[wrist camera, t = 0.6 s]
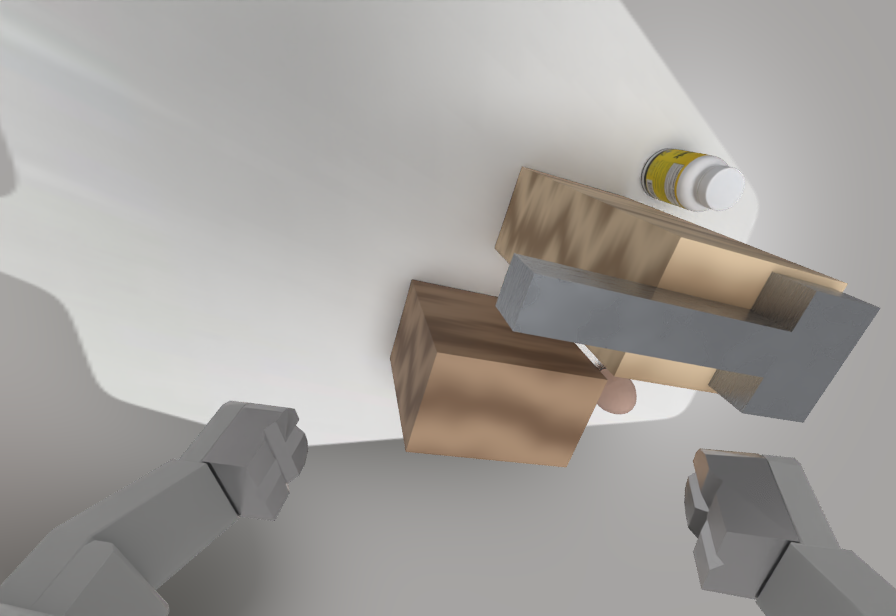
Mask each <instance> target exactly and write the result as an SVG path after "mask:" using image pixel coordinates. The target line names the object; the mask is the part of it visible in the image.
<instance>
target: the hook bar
mask: <svg viewBox="0 0 896 616" xmlns="http://www.w3.org/2000/svg"><path fill="white" fill-rule="evenodd" d="M495 306H496V307H497V309H498V310H499V312H500V313H501V315H502V316H503V318H504V319H505V320H506V322H507V323H508V325H509V326H510V328H511V329H512V331H514V332H520V333H525V334H531V335H536V336H541V337H547V338H552V339H558V340H563V341H568V342H574V343H579V344H585V345H590V346H595V347H601V348H606V349H612V350H617V351H622V352H628V353H633V354H639V355H644V356H649V357H655V358H660V359H666V360H671V361H676V362H682V363H687V364H693V365H698V366H703V367H709V368H714V369H717V370H716V371H715V373H714V375H713V377H712V378H711V380H710V382H709V384H708V386H710V387H711V388H712V389H713V390H715V391H716V392H717V393H718V394H720V395H721V396H722V397H723V398H724V399H726V400H727V401H728V402H729V403H730V404H732V405H733V406H734V407H735V408H736V409H738V410H739V411H740V412H742V413H745V414H751V415H757V416H764V417H771V418H777V419H783V420H790V421H796V422H804V420H805V419H806V418H807V416H808V415H809V413H810V412H811V410H812V409H813V407H814V406H815V404H816V403H817V401H818V400H819V398H820V397H821V395H822V394H823V392H824V391H825V389H826V388H827V386H828V385H829V384H830V382H831V381H832V379H833V378H834V376H835V375H836V373H837V372H838V370H839V369H840V367H841V366H842V364H843V363H844V361H845V360H846V358H847V357H848V355H849V354H850V353H851V351H852V349H853V348H854V346H855V345H856V344H857V342H858V341H859V339H860V338H861V336H862V335H863V333H864V332H865V330H866V329H867V327H868V326H869V324H870V323H871V321H872V320H873V318H874V317H875V315H876V314H877V312H878V311H879V310H880V308H879V307H877V306H874V305H872V304H870V303H867V302H864V301H862V300H860V299H857V298H855V297H852V296H850V295H848V294H845V293H843V292H840V291H838V290H836V289H833V288H830V287H826V286H823V285H819V284H815V283H812V282H808V281H804V280H801V279H797V278H793V277H790V276H786V275H782V274H779V273H775V272H772V273H771V274H770V276H769V278H768V280H767V281H766V283H765V285H764V287H763V288H762V290H761V292H760V294H759V295H758V297H757V299H756V301H755V303H754V304H753V306H752V308H751V309H747V308H742V307H738V306H734V305H730V304H726V303H721V302H717V301H713V300H709V299H705V298H700V297H696V296H692V295H688V294H684V293H679V292H675V291H671V290H667V289H663V288H658V287H654V286H650V285H646V284H642V283H637V282H633V281H629V280H625V279H621V278H616V277H612V276H608V275H604V274H600V273H595V272H591V271H587V270H583V269H579V268H574V267H570V266H566V265H562V264H558V263H553V262H549V261H545V260H541V259H537V258H532V257H528V256H524V255H520V254H516V253H514V254H513V257H512V259H511V262H510V265H509V268H508V271H507V274H506V276H505V279H504V282H503V285H502V288H501V291H500V294H499V296H498V299H497V302H496V305H495Z"/></svg>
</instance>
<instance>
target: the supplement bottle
mask: <svg viewBox="0 0 896 616" xmlns="http://www.w3.org/2000/svg"><path fill="white" fill-rule="evenodd" d="M642 185H643V188H644V190H645V192H646V193H647V194H648V195H649V196H651V197H653V198H655V199H658V200H661V201H664V202H667V203H670V204H673V205H676V206H679V207H682V208H684V209H687V210H691V211H695V212H702V211H707V210H709V209H712V210H715V211H723V210H726V209H729V208H731V207H732V206H733V205H735V204H736V203H737V201H738V200H739V199H740V197H741V196H742V194H743V191H744V187H745V179H744V176H743V174H742V172H741V171H740V170H738V169H736V168H733V167H729V166H728V165H727V163H726V162H725V161H724V160H722V159H721V158H719V157H716V156H712V155H706V154H701V153H695V152H689V151H683V150H677V149H665V150H662V151H659V152H657V153H656V154H654V155H653V156H652V157H651V158H650V159H649V161H648V162H647V164H646V165H645V167H644V170H643V174H642Z"/></svg>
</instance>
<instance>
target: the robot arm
mask: <svg viewBox="0 0 896 616" xmlns="http://www.w3.org/2000/svg"><path fill="white" fill-rule="evenodd" d="M298 421H299V418H298V415H297V413H296V411H295V409H292V408H286V407H278V406H271V405H263V404H255V403H246V402H238V401H229V402H227V403H225V404H223V405H222V406H221V407H220V409H219V410H218V411H217V412H216V414H215V415H214V416H213V417H212V419H211V420H210V421H209V422H208V424H207V425H206V426H205V427H204V429H203V430H202V431H201V432H200V434H199V435H198V436H197V438H196V439H195V440H194V441H193V442H192V444H191V445H190V446H189V448H188V449H187V450H186V451H185V452H184V454H183V455H182V456H181V457H180V459H172V460H170V461H168V462H166V463H165V464H163V465H161V466H160V467H158V468H156V469H154V470H153V471H151V472H149V473H148V474H146V475H144V476H143V477H141V478H139V479H138V480H136V481H134V482H132V483H131V484H129V485H127V486H126V487H124V488H122V489H120V490H119V491H117V492H115V493H114V494H112V495H110V496H108V497H107V498H105V499H103V500H102V501H100V502H98V503H97V504H95V505H93V506H91V507H90V508H88V509H86V510H85V511H83V512H81V513H79V514H78V515H76V516H75V517H73V518H71V519H69V520H68V521H66V522H64V523H62V524H61V525H59V526H57V527H56V528H54V529H52V530H51V531H50V532H49V533H48V535H47V536H46V537H45V538H44V539H43V540H42V541H41V542H40V543H39V544H38V545H37V547H36V548H35V549H34V550H33V551H32V552H31V553H30V554H29V555H28V556H27V557H26V558H25V559H24V560H23V562H22V563H21V564H20V565H19V566H18V567H17V568H16V569H15V570H14V571H13V572H12V573H11V575H10V576H9V577H8V578H7V579H6V580H5V581H4V582H3V583H2V584H1V585H0V616H167V615H168V613H169V605H168V604H167V602H166V601H164V599H163V598H162V597H161V596H160V595H159V594H158V593H157V591H156V590H157V589H158V588H159V587H160V586H161V585H162V584H164V583H165V582H166V581H167V580H168V579H169V578H171V577H172V576H173V575H174V574H175V573H176V572H177V571H179V570H180V569H181V568H182V567H183V566H185V565H186V564H187V563H188V562H189V561H190V560H192V559H193V558H194V557H195V556H196V555H197V554H199V553H200V552H201V551H202V550H203V549H204V548H206V547H207V546H208V545H209V544H210V543H211V542H212V541H214V540H215V539H216V538H217V537H218V536H220V535H221V534H222V533H223V532H224V531H225V530H227V529H228V528H229V527H230V526H231V525H232V524H234V523H235V522H236V521H237V520H238V519H239V517H238V516H240V517H247V518H256V519H263V520H271V521H275V519H276V517H277V516H278V514H279V512H280V510H281V508H282V506H283V504H284V503H285V501H286V499H287V497H288V495H289V493H290V492H289V486H288V483H289V482H291V481H292V480H293V479H295V478H296V477H298V476H299V475H300V473H301V471H302V469H303V467H304V465H305V462H306V457H307V453H308V442H307V438H306V436H305V433H304V432H303V431H302V430H300V429H299V428H298V427H297V426H296V424H297V422H298ZM693 463H694V467H695V473H693V474H692V475H690V476H688V479H687V483H686V487H685V500H684V503H685V514H686V519H687V524H688V528H689V529H690V530H691V531H692V533H693V534H694V535H695V536H696V537H697V538H698V540H697V543H696V546H695V548H694V551H693V553H694V558H695V562H696V567H697V571H698V575H699V580H700V584H701V589H702V590H707V591H713V592H718V593H724V594H729V595H734V596H740V597H745V598H750V599H756V600H757V601H756V604H757V605H758V606H759V607H760V609H761V610H762V611H763V612H764V614H765V615H766V616H896V589H895V588H894V587H893V586H892V585H891V584H890V583H888V582H887V581H886V580H885V579H884V578H883V577H882V576H880V575H879V574H878V573H877V572H876V571H875V570H873V569H872V568H871V567H870V566H869V565H868V564H867V563H865V562H864V561H863V560H862V559H861V558H860V557H858V556H857V555H856V554H855V553H854V552H853V551H851V550H845V549H841V548H840V546H839V544H838V542H837V540H836V537H835V535H834V533H833V531H832V529H831V527H830V525H829V523H828V521H827V518H826V516H825V514H824V512H823V510H822V508H821V506H820V504H819V502H818V499H817V497H816V495H815V493H814V491H813V489H812V487H811V485H810V483H809V481H808V478H807V476H806V474H805V472H804V470H803V468H802V466H801V464H800V463H799V462H798V461H797V460H796V459H795V458H791V457H781V456H771V455H759V454H756V453H745V452H744V453H743V452H733V451H722V450H711V449H699V450H698V451H697V452H696V454H695V457H694V460H693Z"/></svg>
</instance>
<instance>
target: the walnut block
mask: <svg viewBox="0 0 896 616" xmlns="http://www.w3.org/2000/svg"><path fill="white" fill-rule="evenodd" d="M497 299H498V297H494V296H489V295H485V294H480V293H475V292H470V291H465V290H460V289H455V288H451V287H446V286H441V285H436V284H431V283H426V282H421V281H417V280H412V281H411V284H410V288H409V291H408V295H407V299H406V302H405V306H404V309H403V313H402V317H401V320H400V324H399V327H398V331H397V335H396V338H395V342H394V345H393V349H392V353H391V356H390V361H391V367H392V373H393V379H394V385H395V391H396V397H397V403H398V409H399V414H400V420H401V426H402V432H403V438H404V444H405V450H406V452H415V453H424V454H434V455H445V456H455V457H466V458H476V459H486V460H496V461H507V462H517V463H527V464H538V465H548V466H558V467H567V465H568V462H569V461H570V459H571V457H572V454H573V452H574V450H575V448H576V446H577V444H578V442H579V440H580V438H581V435H582V433H583V431H584V429H585V427H586V425H587V423H588V421H589V419H590V417H591V414H592V412H593V410H594V408H595V406H596V404H597V402H598V400H599V398H600V396H601V393H602V391H603V389H604V387H605V385H606V383H607V381H608V380H607V379H606V377H605V376H604V375H603V374H602V373H601V372H600V371H599V370H598V369H597V367H596V366H595V365H594V364H593V363H592V362H591V361H590V360H589V359H588V357H587V356H586V355H585V354H584V353H583V352H582V351H581V350H580V349H579V347H578V346H577V345H576V344H575V343H574V342H568V341H563V340H558V339H552V338H547V337H541V336H536V335H531V334H525V333H520V332H514V331H512V329H511V328H510V326H509V325H508V323H507V322H506V320H505V319H504V318H503V316H502V315H501V313H500V312H499V310H498V309H497V307H496V306H495V305H496V302H497Z"/></svg>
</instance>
